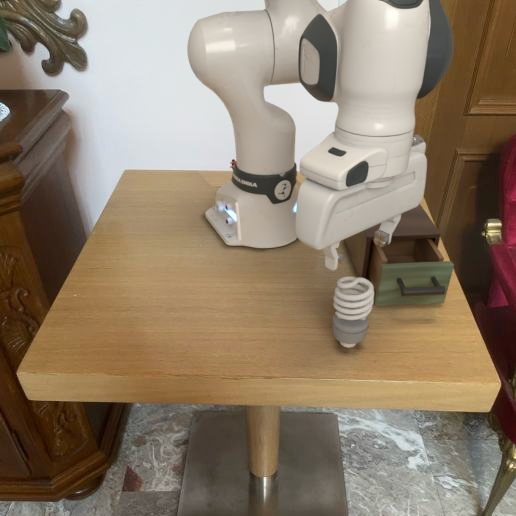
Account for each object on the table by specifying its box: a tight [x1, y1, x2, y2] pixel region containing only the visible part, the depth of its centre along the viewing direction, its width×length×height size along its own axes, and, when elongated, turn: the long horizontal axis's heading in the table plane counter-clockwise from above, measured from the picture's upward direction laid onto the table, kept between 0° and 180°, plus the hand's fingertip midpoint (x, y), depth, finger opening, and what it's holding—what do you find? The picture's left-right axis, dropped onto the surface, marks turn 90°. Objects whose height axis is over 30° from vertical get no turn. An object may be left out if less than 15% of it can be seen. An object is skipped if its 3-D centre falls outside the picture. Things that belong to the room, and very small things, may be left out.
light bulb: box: [331, 276, 375, 349], centre depth 76 cm, size 6×6×12 cm
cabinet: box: [343, 203, 442, 283], centre depth 97 cm, size 16×13×9 cm
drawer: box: [367, 238, 455, 307], centre depth 88 cm, size 19×11×7 cm, turn 4°
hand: (358, 255), depth 69 cm, fingers open, 8 cm apart
